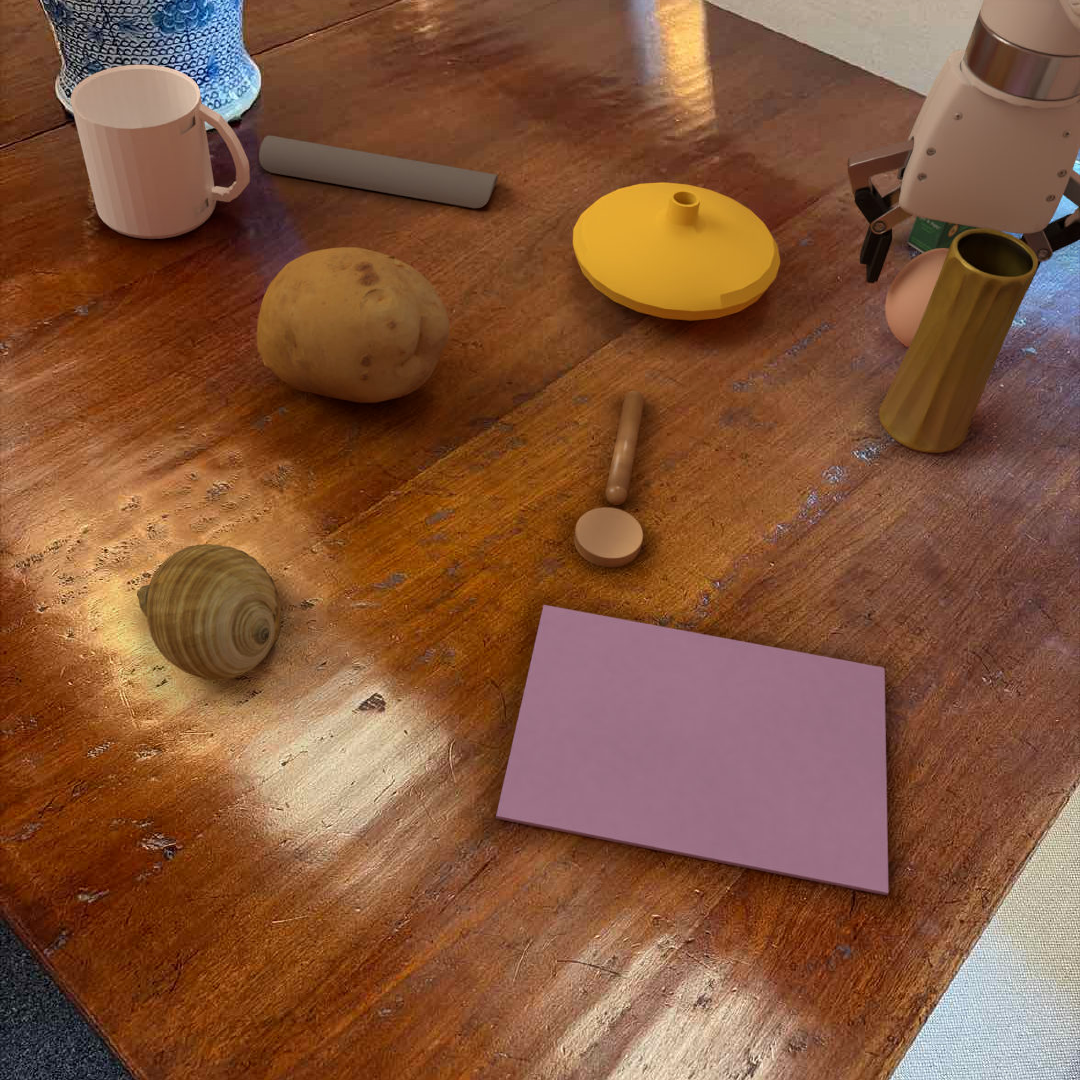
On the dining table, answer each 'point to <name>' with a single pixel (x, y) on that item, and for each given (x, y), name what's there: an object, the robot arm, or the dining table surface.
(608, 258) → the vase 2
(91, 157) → the mug
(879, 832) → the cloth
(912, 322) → the egg
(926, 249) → the coffee box
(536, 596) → the dining table surface
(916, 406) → the vase
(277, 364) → the potato
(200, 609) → the seashell
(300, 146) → the half round rod
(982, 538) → the dining table surface
